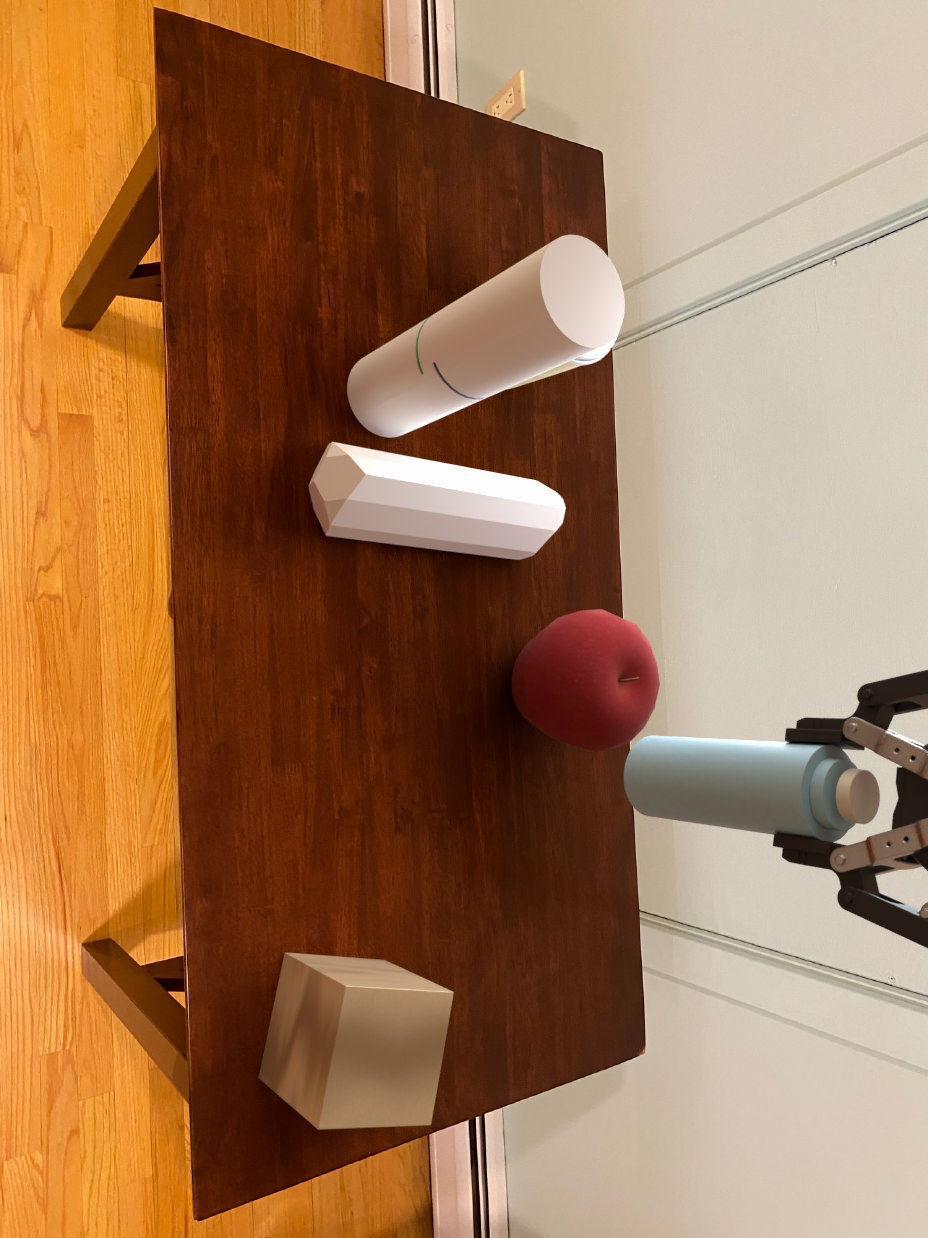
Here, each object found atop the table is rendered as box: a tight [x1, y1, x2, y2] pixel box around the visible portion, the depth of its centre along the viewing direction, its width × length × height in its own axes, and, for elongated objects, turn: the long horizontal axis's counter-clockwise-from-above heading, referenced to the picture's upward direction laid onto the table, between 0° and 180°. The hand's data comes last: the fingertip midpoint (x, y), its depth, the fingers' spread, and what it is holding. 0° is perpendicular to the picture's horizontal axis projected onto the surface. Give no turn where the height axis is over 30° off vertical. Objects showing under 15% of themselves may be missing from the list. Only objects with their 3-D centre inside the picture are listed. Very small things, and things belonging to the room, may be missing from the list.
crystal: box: [308, 441, 567, 561], centre depth 79 cm, size 7×7×24 cm
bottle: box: [623, 735, 881, 843], centre depth 54 cm, size 5×5×15 cm
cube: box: [258, 952, 454, 1131], centre depth 68 cm, size 9×9×10 cm
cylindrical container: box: [346, 234, 626, 439], centre depth 69 cm, size 7×7×25 cm
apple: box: [511, 608, 661, 753], centre depth 81 cm, size 12×12×13 cm
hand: (789, 789), depth 52 cm, fingers closed on bottle, 5 cm apart
